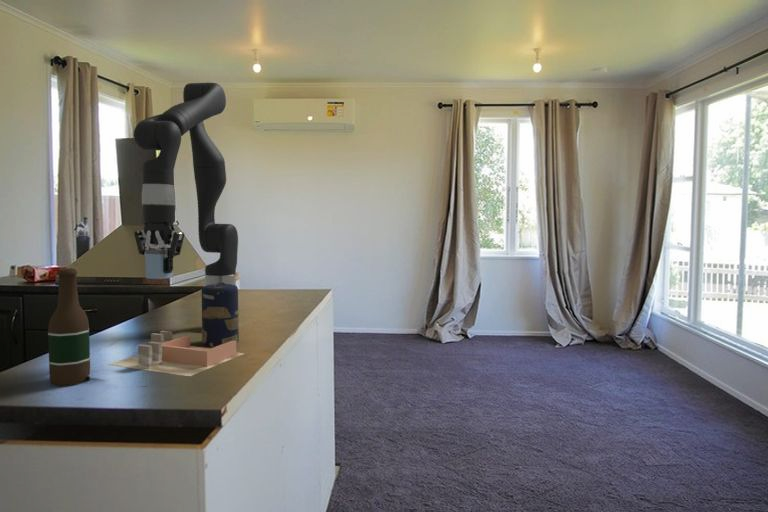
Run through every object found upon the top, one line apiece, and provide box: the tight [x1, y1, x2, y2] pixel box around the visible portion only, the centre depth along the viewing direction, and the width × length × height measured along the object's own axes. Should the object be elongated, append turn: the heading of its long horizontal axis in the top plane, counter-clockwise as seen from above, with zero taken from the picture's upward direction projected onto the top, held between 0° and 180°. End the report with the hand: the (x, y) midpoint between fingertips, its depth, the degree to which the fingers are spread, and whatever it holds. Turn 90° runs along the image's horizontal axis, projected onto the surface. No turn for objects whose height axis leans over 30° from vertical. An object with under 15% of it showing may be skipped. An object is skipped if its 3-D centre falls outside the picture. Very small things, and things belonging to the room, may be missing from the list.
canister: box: [201, 282, 240, 348], centre depth 138 cm, size 10×10×18 cm
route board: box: [107, 330, 245, 377], centre depth 123 cm, size 20×23×6 cm
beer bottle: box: [47, 268, 91, 387], centre depth 108 cm, size 8×8×24 cm
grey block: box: [144, 248, 174, 280], centre depth 126 cm, size 4×4×7 cm
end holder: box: [162, 334, 240, 367], centre depth 124 cm, size 12×15×4 cm
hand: (159, 272), depth 126 cm, fingers closed on grey block, 4 cm apart
